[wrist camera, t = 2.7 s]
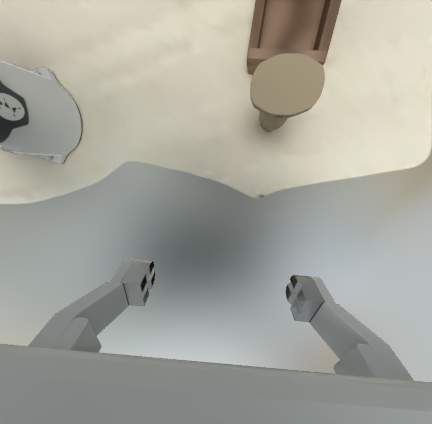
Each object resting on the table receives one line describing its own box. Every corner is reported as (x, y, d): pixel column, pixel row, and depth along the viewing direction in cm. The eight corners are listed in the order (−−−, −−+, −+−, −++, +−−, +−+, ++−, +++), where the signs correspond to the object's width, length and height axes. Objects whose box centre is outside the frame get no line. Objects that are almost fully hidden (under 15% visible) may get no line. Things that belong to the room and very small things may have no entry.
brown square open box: (247, 73, 29) (246, 58, 25) (260, -9, 26) (262, -43, 21) (313, 77, 27) (325, 61, 23) (336, -10, 24) (353, -47, 20)
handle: (254, 104, 30) (255, 52, 16) (293, 107, 29) (331, 54, 15) (249, 134, 31) (246, 112, 17) (286, 138, 30) (315, 117, 16)
